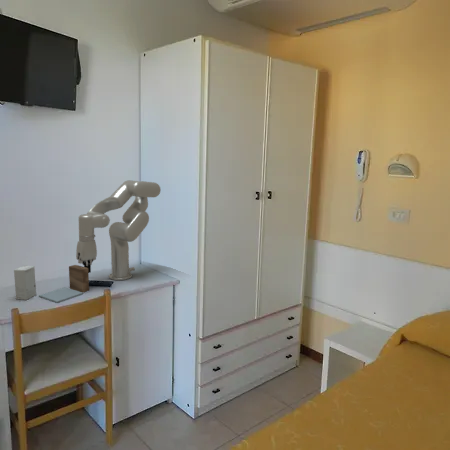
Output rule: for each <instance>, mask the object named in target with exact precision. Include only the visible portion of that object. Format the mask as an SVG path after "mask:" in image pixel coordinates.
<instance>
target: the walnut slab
mask: <svg viewBox="0 0 450 450" xmlns="http://www.w3.org/2000/svg"><path fill="white" fill-rule="evenodd" d="M68 275H69V276H68V280H69V289H73V290H76V291H79V292H82V293H83V294H84V293H85V292H88V291H90V283H89V282H90V281H89V279H90V277H89V273H88V268H86V267H84V266H81V265H78V264H73V265H70V266H68Z"/></svg>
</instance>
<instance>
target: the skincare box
mask: <svg viewBox="0 0 450 450" xmlns="http://www.w3.org/2000/svg"><path fill="white" fill-rule="evenodd" d="M35 271H36V270H35V266H33V265H22V266H20V267H17V268H15V269H14V270H13V273H14V277H13V278H14V286H15V287H14V289H15V299H16V300H23V301H24V300H25V301H27V300H29V299H31V298H32V297H34V296H36V295H37V286H36V274H35V273H36V272H35Z"/></svg>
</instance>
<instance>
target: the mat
mask: <svg viewBox="0 0 450 450" xmlns="http://www.w3.org/2000/svg"><path fill="white" fill-rule="evenodd" d="M82 295H84V292H83V293H82V292H79V291H76V290H73V289H70V287H66V286H64V287H60V288H57V289H54V290H52V291H48V292H45V293H42V294H39V295H38V298H41V299H44V300H47V301H49V302H53V303H56V304H59V303H61V302H65V301H68V300H70V299H73V298H76V297H79V296H82Z"/></svg>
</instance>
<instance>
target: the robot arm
mask: <svg viewBox="0 0 450 450" xmlns="http://www.w3.org/2000/svg"><path fill="white" fill-rule="evenodd" d="M160 193H161V186H160V184H159V183H157V182H152V181H138V180H125V181H124V182H123V183H122V184H120V186H118V187H117V188H116V190H115V191H114V192H113V193H112V194H111V195H110V196H108V197H106V198H104V199H103V200H100V201H99V202H97V203H96V204H94V205H93V206H92V207H91V208H90V209H89V211H87V213H86V214H80V215H79V216H78V241H77V244H76V252H75V253H76V254H75V255H76V260H77V263H78V264H80V265H81V264H82V265H83V267H86V268H88V274H90V273H91V271H92V267H91V266H92V265H93V262H94V261H95V260H97V255H98V250H97V244H96V239H95V237H96V234H95V229H96V228H97V229H99V228H100V229H102V228H106V227H108V225H110V221H111V219H110V217H109V215H107V214H106V213H108V212H110V211H115V210H118V209H121V208H122V207H124V206H125V204H126V203H127V202H128V201H129V200H130V199H131V198H132V197H134V201H133V202H132V203H131V205H130V206H129V207H128V208H127V209H126V211H124V213H123V215H122V221H123V222H122V221H121V222H120V221H115V222H113V223H111V225H110V226H109V228H108V236H109V239H110V251H111V252H110V255H111V256H110V257H111V258H110V259H111V273H109V275H108V278H109V279H110V280H114V281H125V280H129V279H130V278H132V276H133V274H132V273H131V272H133V271H135V266H133V267H130V261H129V260H130V259H129V257H130V256H129V255H130V253H129V250H130V248H129V243H133V242H134V241H135V240H136V239H138V237H139V236H140V235H141V234H142V232H144V230H145V229H146V228H147V226H148V224H149V221H150V216H149V213H148V212H147V209H148V207H149V201H148V198H157V197H158V196H159V195H160Z"/></svg>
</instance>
